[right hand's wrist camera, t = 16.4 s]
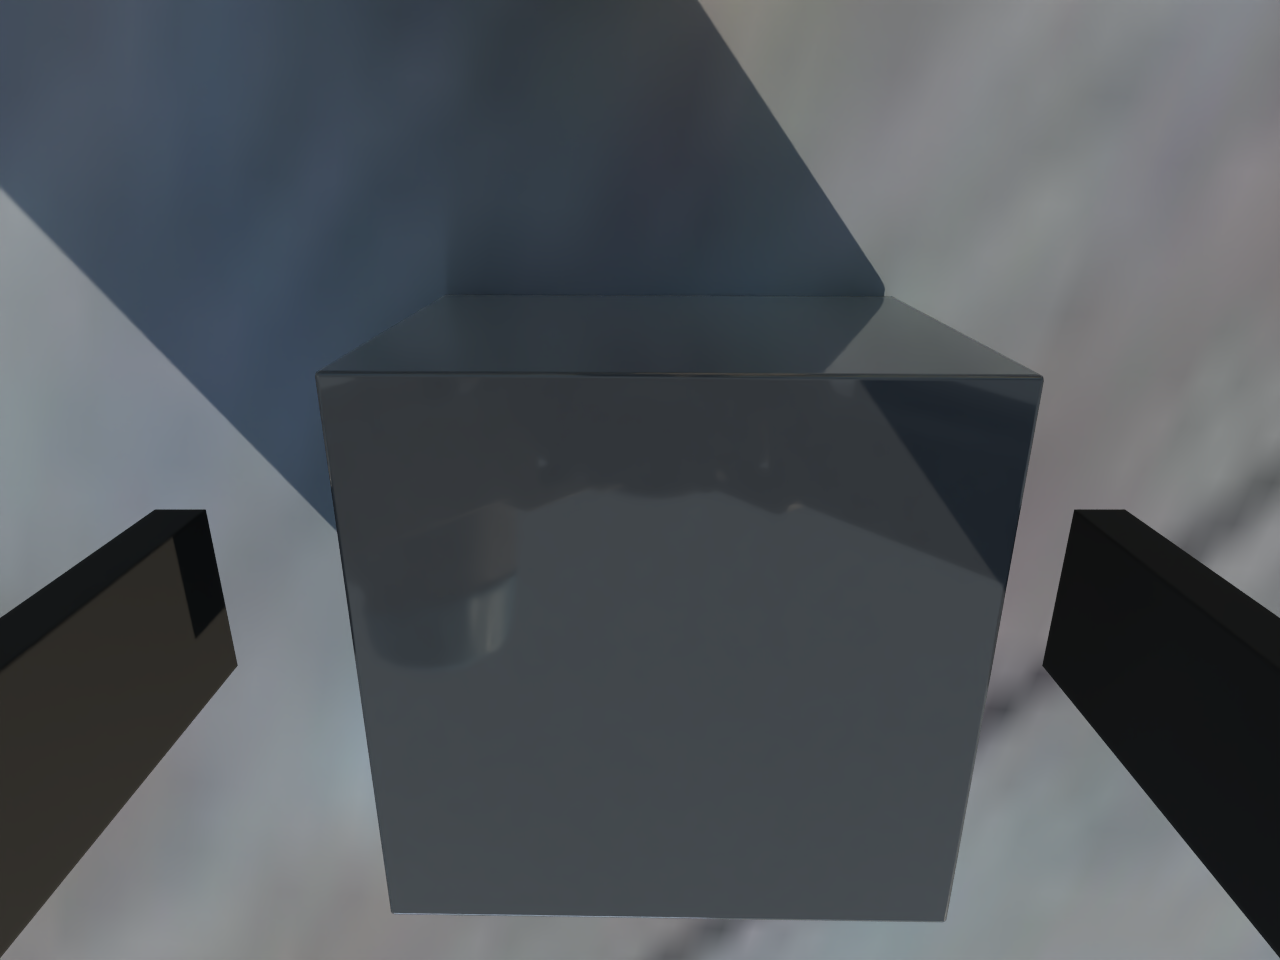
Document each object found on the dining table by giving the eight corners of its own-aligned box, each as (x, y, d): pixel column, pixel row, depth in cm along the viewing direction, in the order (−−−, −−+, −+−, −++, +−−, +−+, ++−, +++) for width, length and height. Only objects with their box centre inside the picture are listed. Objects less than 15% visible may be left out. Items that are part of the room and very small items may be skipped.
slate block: (851, 679, 17) (947, 924, 12) (474, 675, 17) (389, 916, 12) (894, 295, 14) (1046, 375, 9) (443, 293, 15) (311, 372, 9)
